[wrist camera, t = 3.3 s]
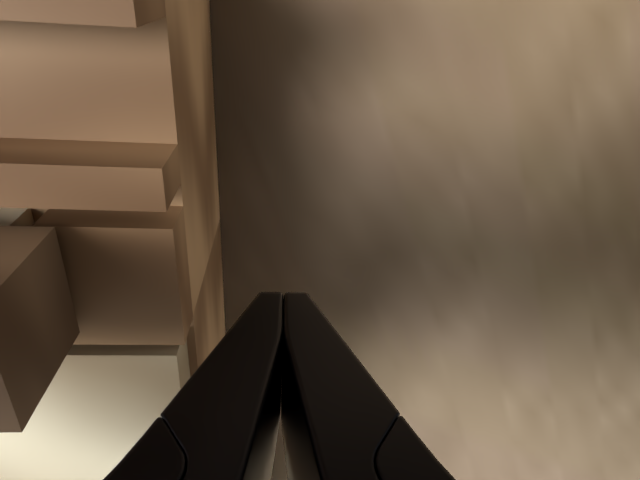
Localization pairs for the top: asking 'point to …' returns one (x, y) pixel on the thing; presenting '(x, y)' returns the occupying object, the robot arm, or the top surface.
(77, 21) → the toolbox
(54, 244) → the block
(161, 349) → the lid
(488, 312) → the top surface
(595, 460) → the top surface
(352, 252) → the top surface
